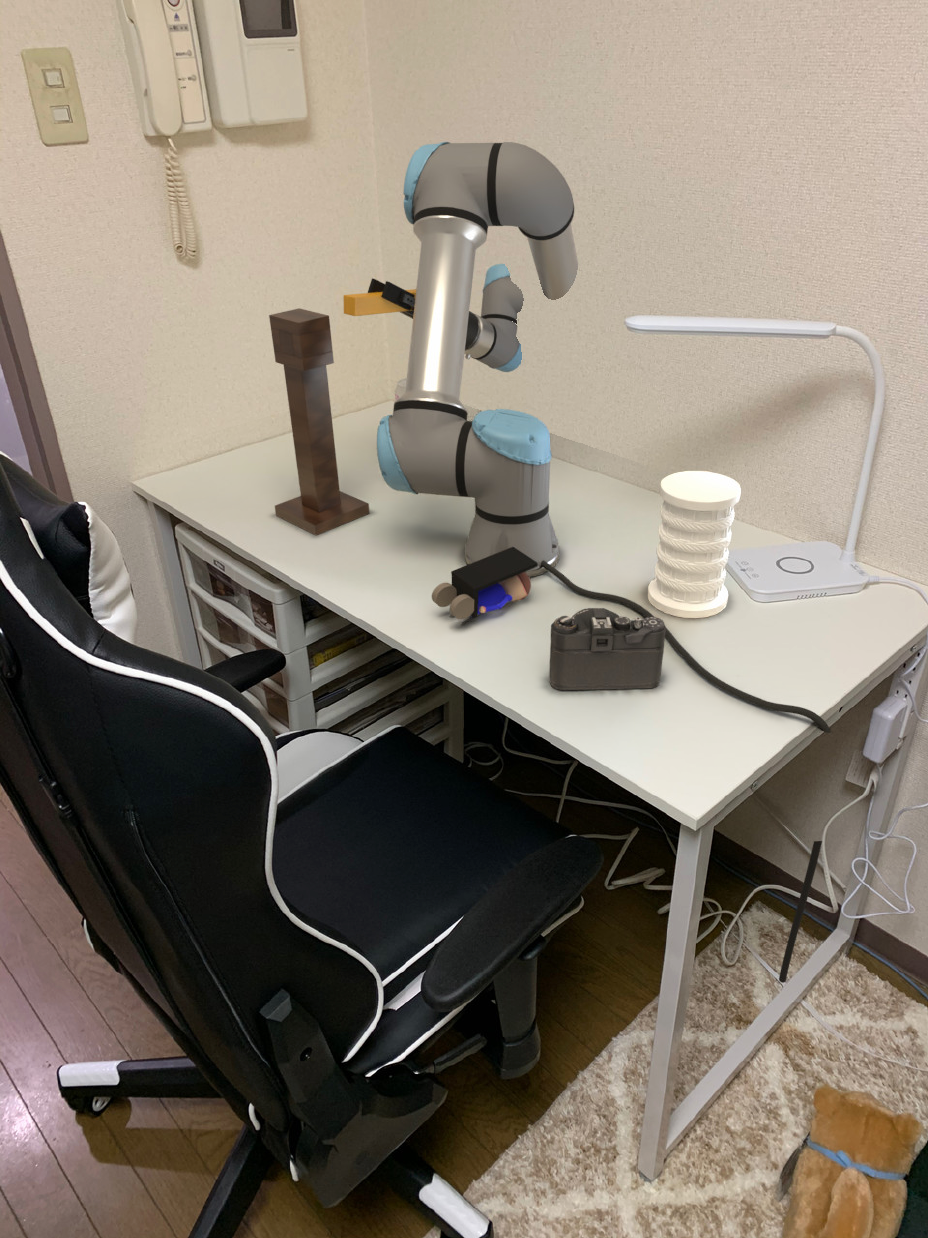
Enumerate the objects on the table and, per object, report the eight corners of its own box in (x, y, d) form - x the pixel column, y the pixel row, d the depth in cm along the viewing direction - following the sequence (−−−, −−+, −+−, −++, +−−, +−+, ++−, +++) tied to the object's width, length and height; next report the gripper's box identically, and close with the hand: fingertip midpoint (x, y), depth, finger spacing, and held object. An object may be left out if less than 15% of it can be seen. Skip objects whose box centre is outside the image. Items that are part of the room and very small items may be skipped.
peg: (354, 316, 150) (354, 297, 148) (343, 313, 151) (343, 294, 150) (433, 308, 161) (434, 290, 160) (422, 305, 163) (422, 288, 162)
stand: (316, 535, 155) (289, 328, 136) (275, 515, 162) (246, 316, 144) (369, 513, 162) (351, 313, 144) (328, 495, 169) (306, 302, 151)
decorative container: (736, 617, 129) (753, 502, 119) (655, 619, 129) (666, 504, 120) (716, 578, 139) (731, 468, 129) (641, 579, 139) (651, 470, 129)
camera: (646, 644, 124) (652, 581, 118) (663, 691, 114) (671, 625, 109) (542, 648, 123) (544, 585, 118) (551, 696, 114) (554, 629, 109)
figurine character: (460, 644, 127) (542, 600, 134) (454, 600, 123) (538, 557, 129) (434, 624, 132) (514, 583, 138) (427, 581, 128) (510, 540, 134)
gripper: (489, 359, 167) (402, 316, 148) (429, 344, 176) (341, 302, 158) (502, 318, 165) (416, 271, 147) (442, 306, 175) (354, 260, 157)
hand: (378, 287), depth 153 cm, fingers closed on peg, 3 cm apart
